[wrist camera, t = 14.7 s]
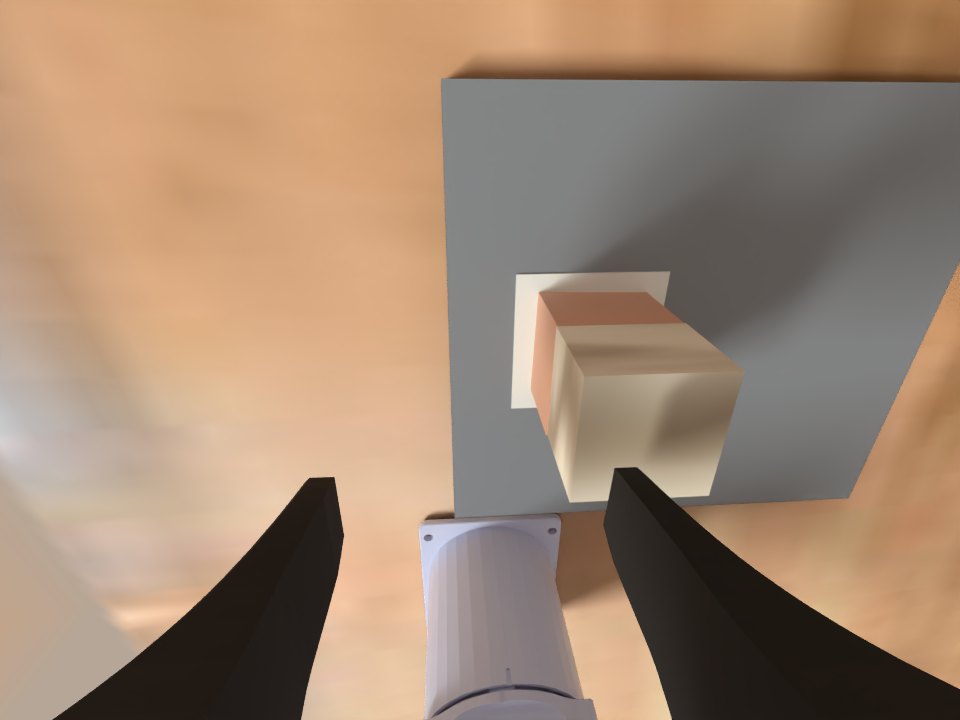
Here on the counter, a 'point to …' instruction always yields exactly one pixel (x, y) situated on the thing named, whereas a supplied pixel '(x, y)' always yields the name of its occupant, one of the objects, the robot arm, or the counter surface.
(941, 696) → the robot arm
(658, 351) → the top block
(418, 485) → the counter surface
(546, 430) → the base block
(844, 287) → the board
